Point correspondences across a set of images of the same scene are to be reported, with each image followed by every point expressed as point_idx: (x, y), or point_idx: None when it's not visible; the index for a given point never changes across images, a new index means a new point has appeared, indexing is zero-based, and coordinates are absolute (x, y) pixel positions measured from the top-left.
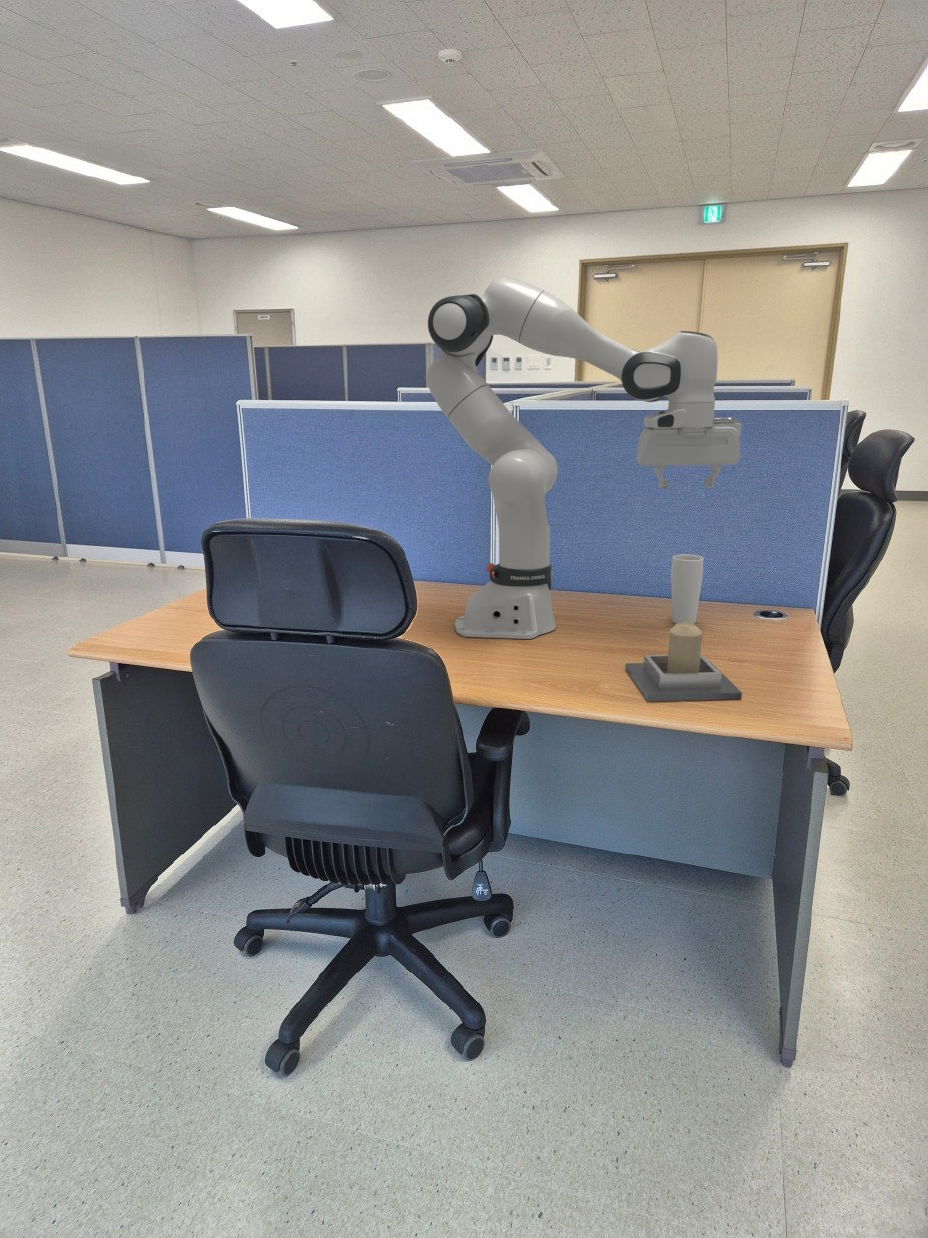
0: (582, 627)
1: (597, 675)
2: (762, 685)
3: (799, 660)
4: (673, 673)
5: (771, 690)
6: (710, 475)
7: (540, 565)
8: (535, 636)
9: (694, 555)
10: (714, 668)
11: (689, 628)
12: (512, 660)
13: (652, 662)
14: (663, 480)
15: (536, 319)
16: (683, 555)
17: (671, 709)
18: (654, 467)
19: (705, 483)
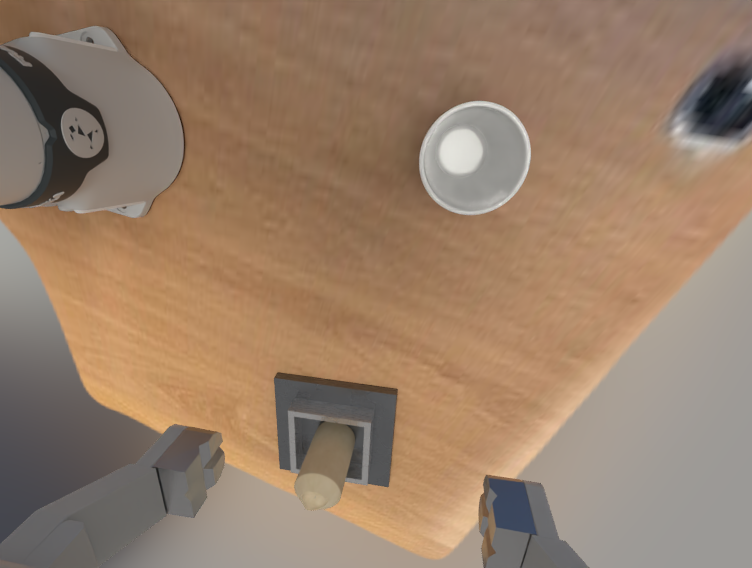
0: (237, 152)
1: (238, 382)
2: (437, 454)
3: (552, 392)
4: None
5: (439, 468)
6: (550, 564)
7: (20, 197)
8: (148, 209)
9: (517, 124)
10: (365, 470)
11: (315, 509)
12: (126, 308)
13: (292, 435)
14: (162, 512)
15: None
16: (480, 105)
17: None
18: (8, 553)
19: (491, 503)
